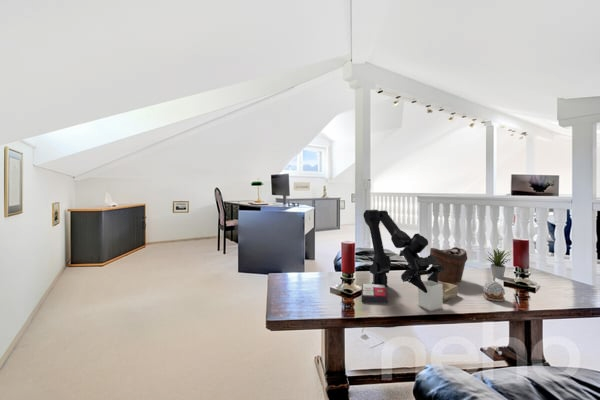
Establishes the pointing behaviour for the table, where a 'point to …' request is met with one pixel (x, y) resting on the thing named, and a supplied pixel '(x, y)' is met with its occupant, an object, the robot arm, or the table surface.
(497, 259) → the house plant
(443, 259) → the brown flower pot
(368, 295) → the red and white box
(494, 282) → the decorative ornament
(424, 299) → the white upright block
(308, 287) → the table surface
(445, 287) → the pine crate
